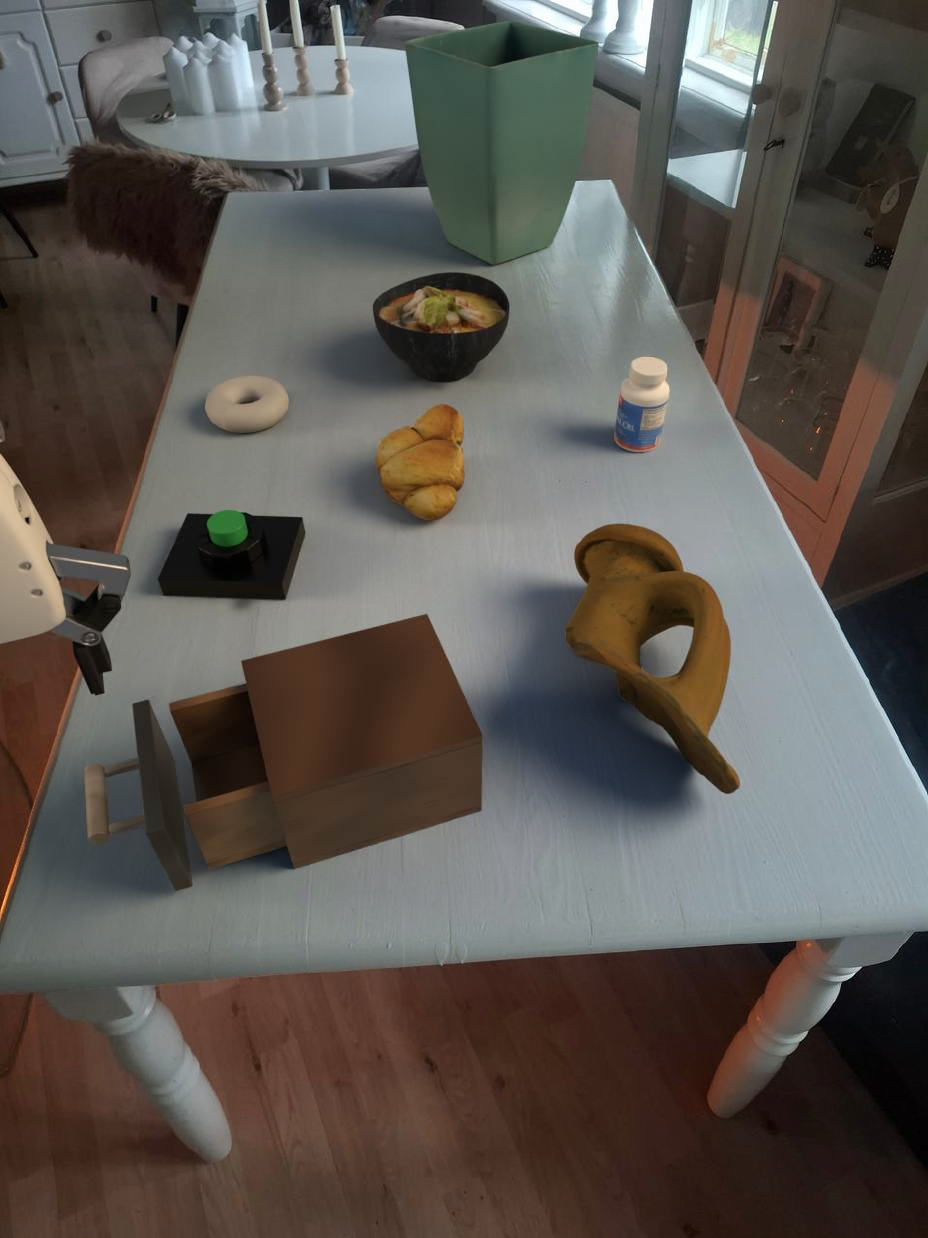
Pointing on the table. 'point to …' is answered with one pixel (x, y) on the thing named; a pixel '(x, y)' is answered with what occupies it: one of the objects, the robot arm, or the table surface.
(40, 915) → the table surface
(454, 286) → the bowl
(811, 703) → the table surface
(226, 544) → the button
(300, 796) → the cabinet
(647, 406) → the pill bottle
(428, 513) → the bread roll
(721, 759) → the brown looped sculpture
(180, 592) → the block
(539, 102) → the flower pot
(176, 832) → the drawer
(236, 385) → the donut
